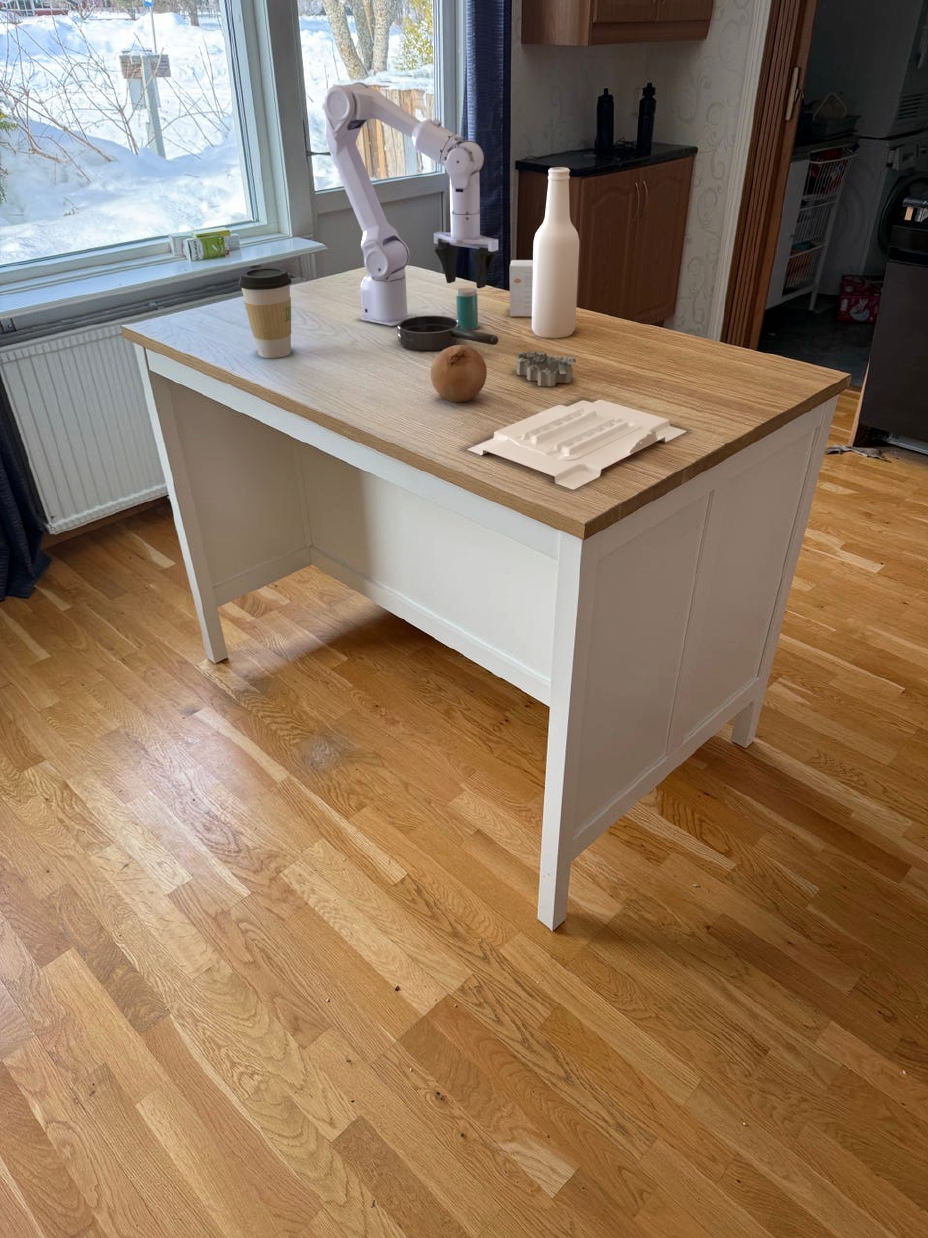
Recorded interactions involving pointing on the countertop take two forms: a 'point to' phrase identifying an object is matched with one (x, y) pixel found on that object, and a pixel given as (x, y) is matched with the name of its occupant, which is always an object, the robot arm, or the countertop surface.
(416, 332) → the pan
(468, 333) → the pan handle
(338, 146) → the robot arm
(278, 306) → the coffee cup
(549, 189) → the alcohol
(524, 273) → the small box
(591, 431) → the tray
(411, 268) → the countertop surface
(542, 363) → the egg carton
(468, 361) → the onion
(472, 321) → the salt shaker
